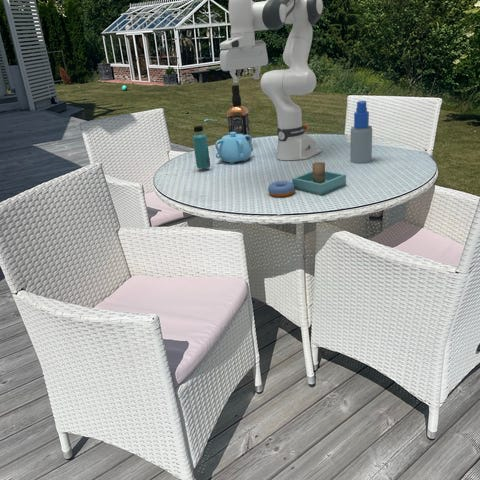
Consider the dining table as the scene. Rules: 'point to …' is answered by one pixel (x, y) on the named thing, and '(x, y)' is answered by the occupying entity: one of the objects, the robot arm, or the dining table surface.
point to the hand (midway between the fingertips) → (246, 80)
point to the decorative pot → (234, 148)
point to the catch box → (330, 184)
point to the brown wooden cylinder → (318, 172)
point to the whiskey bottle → (238, 115)
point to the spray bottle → (361, 136)
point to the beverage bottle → (201, 148)
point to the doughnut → (281, 188)
